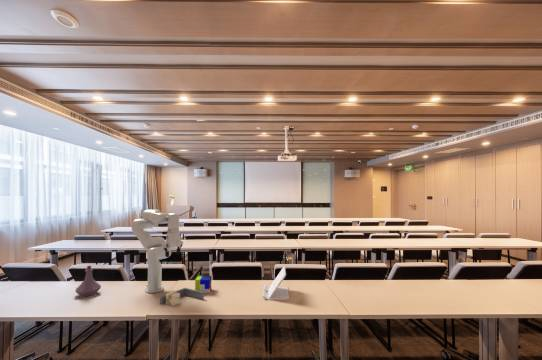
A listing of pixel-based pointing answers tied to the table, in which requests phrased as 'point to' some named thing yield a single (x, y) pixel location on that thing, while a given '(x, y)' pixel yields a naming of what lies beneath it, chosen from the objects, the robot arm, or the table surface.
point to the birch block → (172, 298)
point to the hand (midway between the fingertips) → (172, 255)
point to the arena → (185, 292)
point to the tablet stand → (276, 288)
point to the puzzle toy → (203, 284)
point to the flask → (88, 284)
